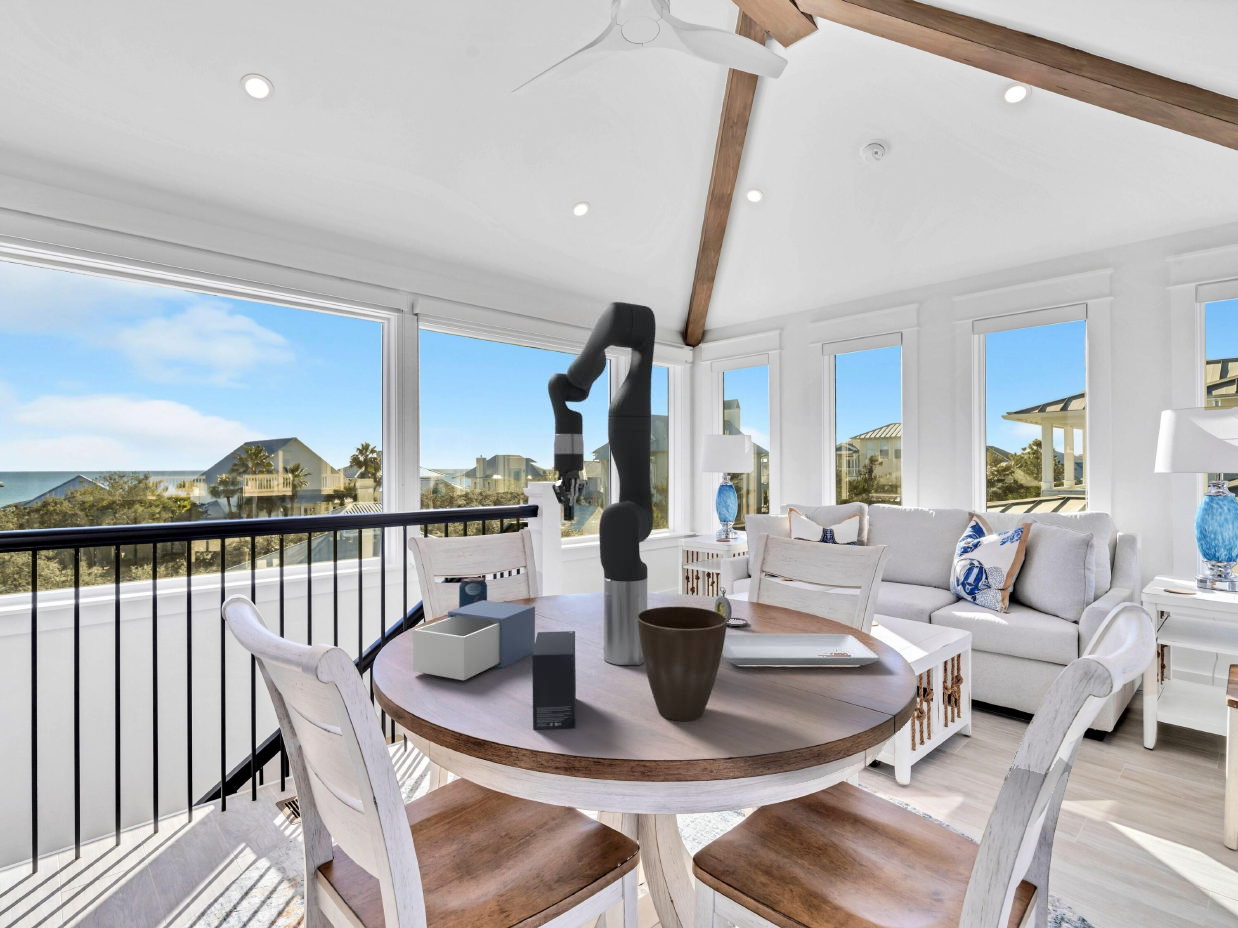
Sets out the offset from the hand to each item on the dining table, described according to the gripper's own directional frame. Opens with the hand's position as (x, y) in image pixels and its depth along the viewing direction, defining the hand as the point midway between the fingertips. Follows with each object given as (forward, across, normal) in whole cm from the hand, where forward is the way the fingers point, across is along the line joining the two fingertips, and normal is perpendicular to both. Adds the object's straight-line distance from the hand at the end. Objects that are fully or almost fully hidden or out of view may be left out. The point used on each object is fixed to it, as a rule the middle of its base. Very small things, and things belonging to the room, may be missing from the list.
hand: (568, 520), depth 158 cm
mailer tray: (+26, -33, +3) cm, 42 cm away
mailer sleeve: (+27, -28, +3) cm, 39 cm away
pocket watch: (+27, +19, -37) cm, 50 cm away
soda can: (+27, -10, +22) cm, 36 cm away
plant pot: (+27, -40, -44) cm, 65 cm away
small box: (+27, -49, -25) cm, 61 cm away
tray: (+28, -2, -56) cm, 62 cm away
